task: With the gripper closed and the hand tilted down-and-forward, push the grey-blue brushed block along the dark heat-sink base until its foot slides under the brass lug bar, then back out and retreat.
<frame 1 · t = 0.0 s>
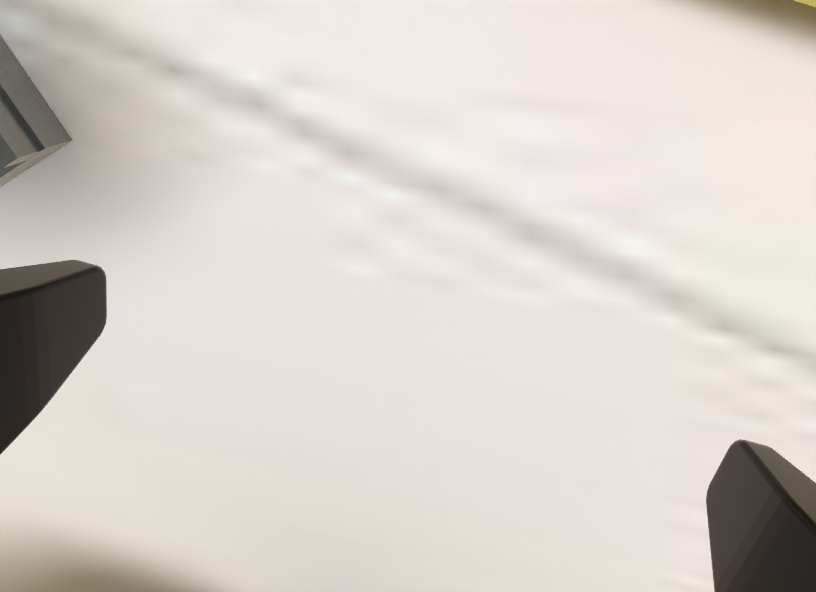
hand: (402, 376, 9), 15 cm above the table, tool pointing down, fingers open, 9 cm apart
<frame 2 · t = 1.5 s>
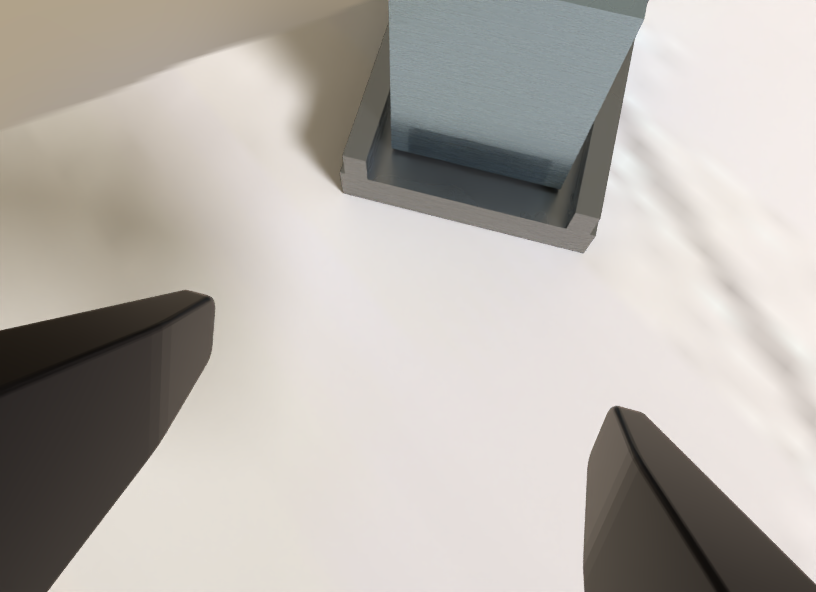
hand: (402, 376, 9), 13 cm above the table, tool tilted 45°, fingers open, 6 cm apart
grey-blue brushed block: (511, 21, 20), point 6 cm above the table, slide at 0.0 cm
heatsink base: (494, 99, 25), on the table
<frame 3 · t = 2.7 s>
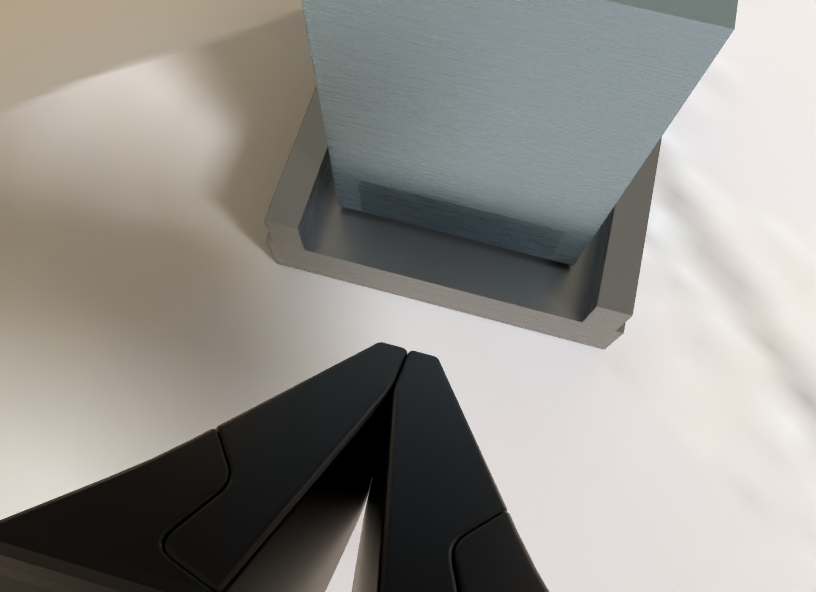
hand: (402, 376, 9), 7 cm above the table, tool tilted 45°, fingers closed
grey-blue brushed block: (504, 31, 13), point 6 cm above the table, slide at 0.0 cm
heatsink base: (484, 134, 19), on the table
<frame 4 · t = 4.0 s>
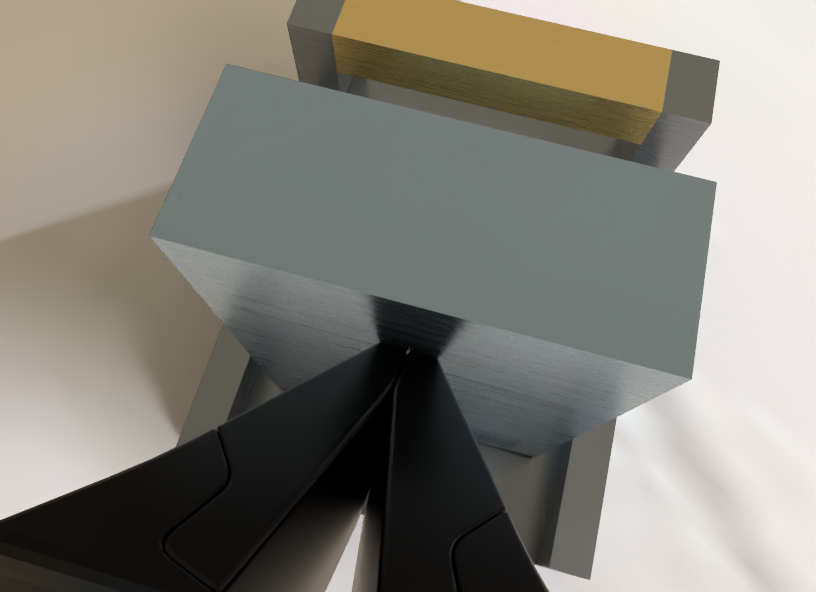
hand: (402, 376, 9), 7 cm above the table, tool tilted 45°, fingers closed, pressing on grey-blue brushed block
grey-blue brushed block: (447, 234, 12), point 6 cm above the table, slide at 0.8 cm, touching gripper
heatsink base: (436, 307, 17), on the table
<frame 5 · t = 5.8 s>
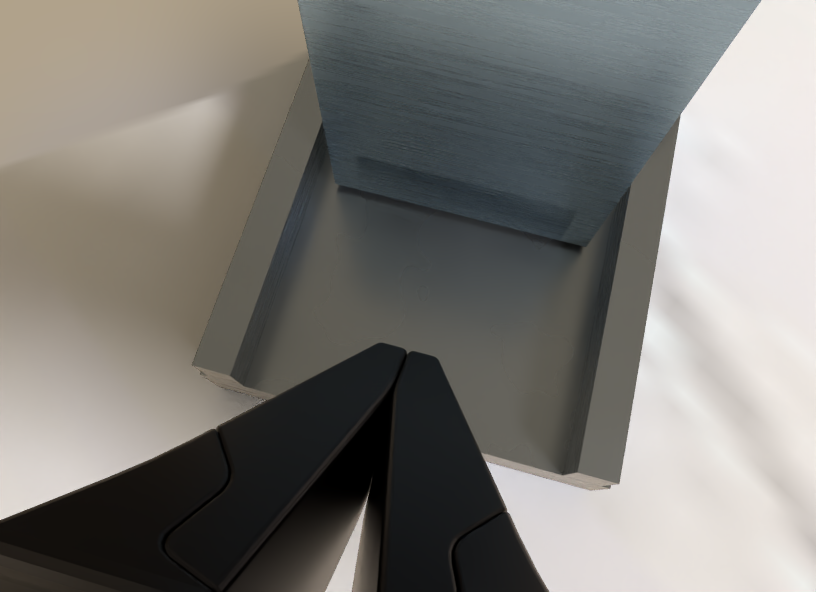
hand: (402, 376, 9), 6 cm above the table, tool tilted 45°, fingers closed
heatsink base: (457, 228, 17), on the table
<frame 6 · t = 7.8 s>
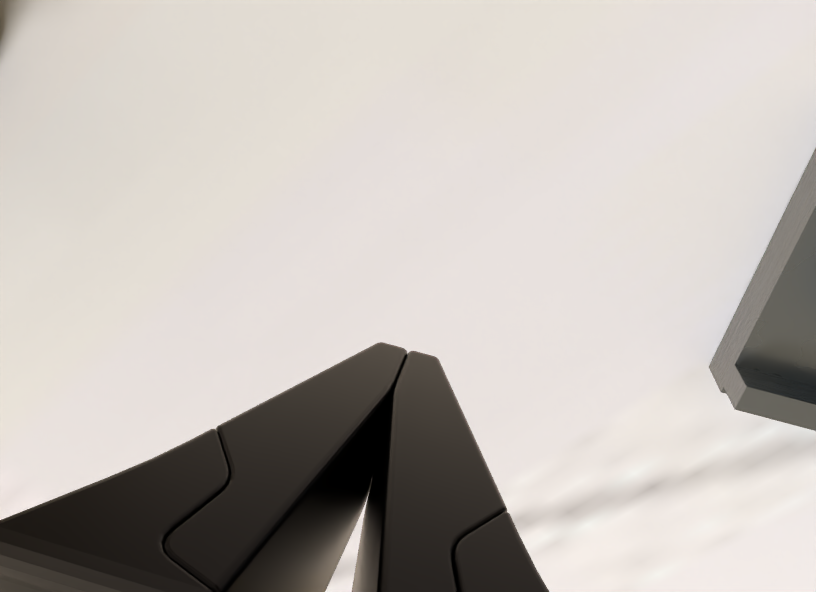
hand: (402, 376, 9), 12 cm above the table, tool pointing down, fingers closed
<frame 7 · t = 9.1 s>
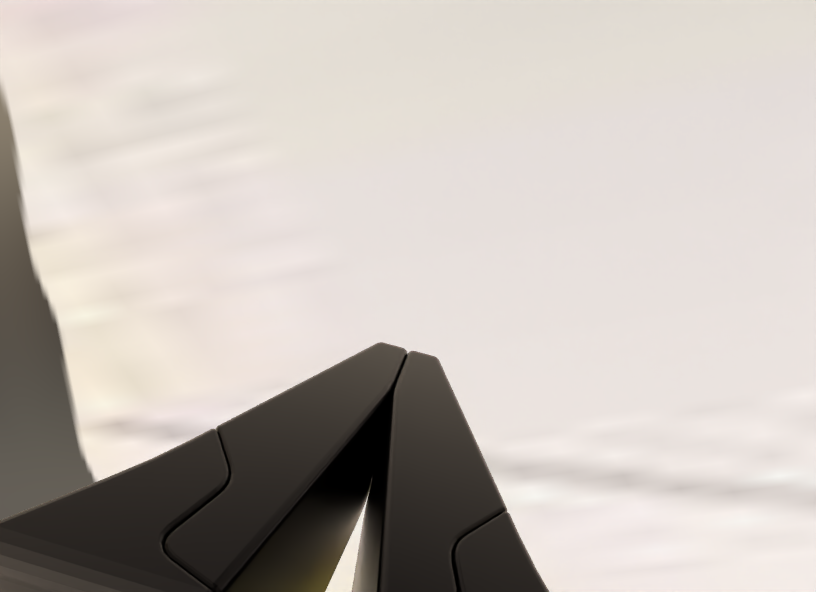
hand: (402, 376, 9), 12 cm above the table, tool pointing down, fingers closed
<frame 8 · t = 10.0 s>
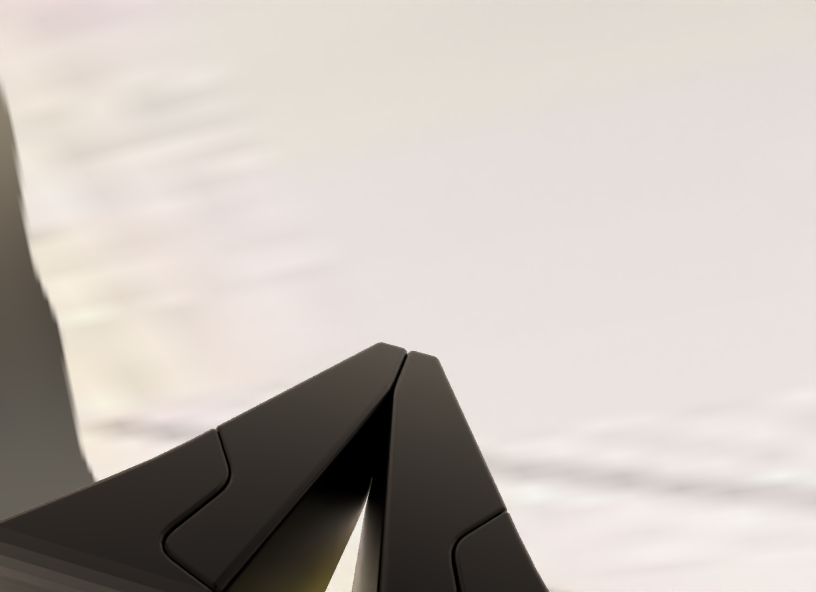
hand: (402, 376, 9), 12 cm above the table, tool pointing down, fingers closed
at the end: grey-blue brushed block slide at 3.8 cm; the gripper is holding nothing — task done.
